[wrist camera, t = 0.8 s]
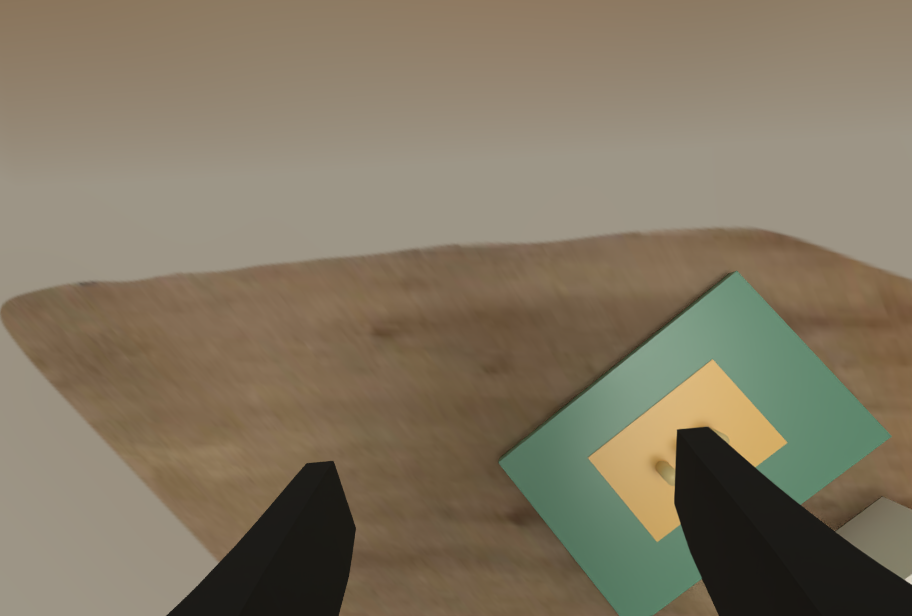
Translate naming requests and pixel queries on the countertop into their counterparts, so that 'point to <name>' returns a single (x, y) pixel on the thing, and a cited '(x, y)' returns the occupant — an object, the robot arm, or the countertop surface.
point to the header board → (655, 431)
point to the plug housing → (883, 535)
